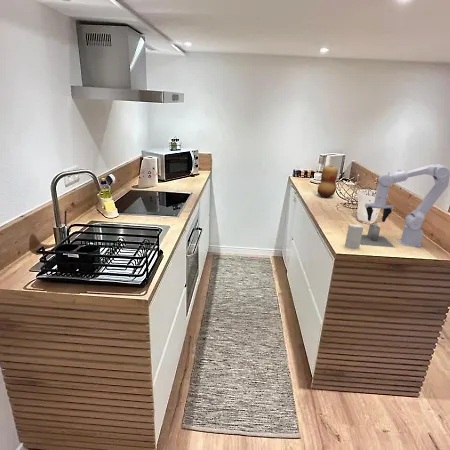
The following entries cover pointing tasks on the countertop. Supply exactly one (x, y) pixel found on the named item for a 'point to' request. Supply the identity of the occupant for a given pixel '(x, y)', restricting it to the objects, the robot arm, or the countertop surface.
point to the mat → (381, 241)
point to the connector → (373, 232)
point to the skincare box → (354, 236)
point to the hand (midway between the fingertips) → (376, 221)
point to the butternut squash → (328, 181)
